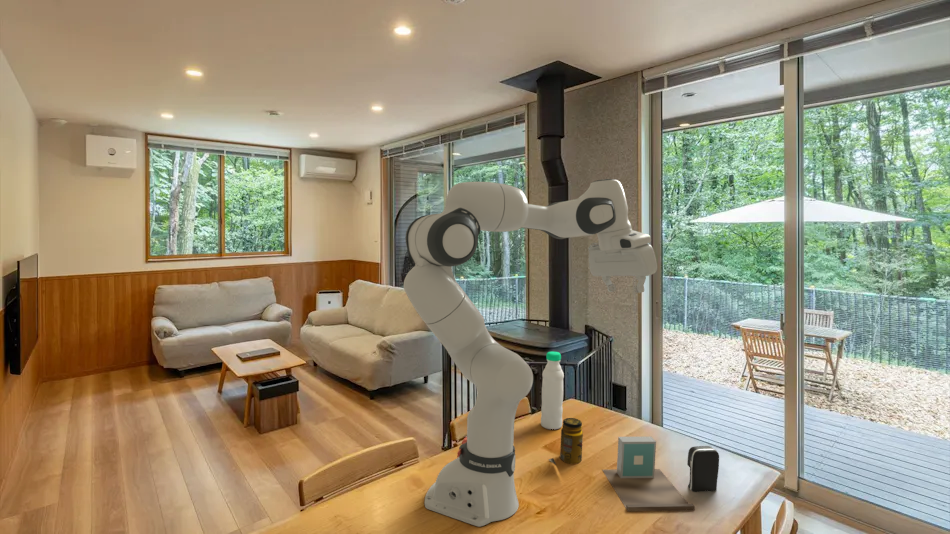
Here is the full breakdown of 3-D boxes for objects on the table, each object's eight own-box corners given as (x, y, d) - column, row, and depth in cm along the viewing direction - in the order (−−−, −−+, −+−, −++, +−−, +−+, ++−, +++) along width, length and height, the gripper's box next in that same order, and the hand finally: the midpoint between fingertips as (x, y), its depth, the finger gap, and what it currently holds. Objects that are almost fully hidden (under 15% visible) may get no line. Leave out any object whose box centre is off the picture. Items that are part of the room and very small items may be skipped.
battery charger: (708, 485, 126) (711, 443, 125) (717, 493, 122) (720, 450, 121) (683, 486, 125) (686, 444, 124) (691, 495, 121) (694, 451, 120)
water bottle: (550, 419, 166) (552, 348, 164) (566, 426, 161) (569, 353, 158) (536, 425, 162) (538, 352, 159) (552, 432, 156) (554, 356, 154)
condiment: (588, 463, 136) (589, 422, 135) (566, 471, 131) (567, 429, 130) (569, 453, 142) (571, 413, 141) (548, 460, 138) (549, 420, 136)
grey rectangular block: (620, 478, 127) (622, 441, 126) (616, 472, 130) (618, 436, 129) (654, 478, 127) (656, 441, 126) (649, 472, 130) (651, 436, 130)
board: (601, 472, 131) (602, 466, 131) (659, 471, 132) (659, 465, 132) (627, 514, 112) (627, 507, 112) (694, 513, 113) (694, 506, 113)
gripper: (579, 245, 133) (589, 293, 135) (638, 240, 115) (649, 296, 117) (595, 240, 136) (604, 287, 138) (655, 235, 119) (665, 289, 120)
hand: (625, 291), depth 127 cm, fingers open, 8 cm apart
